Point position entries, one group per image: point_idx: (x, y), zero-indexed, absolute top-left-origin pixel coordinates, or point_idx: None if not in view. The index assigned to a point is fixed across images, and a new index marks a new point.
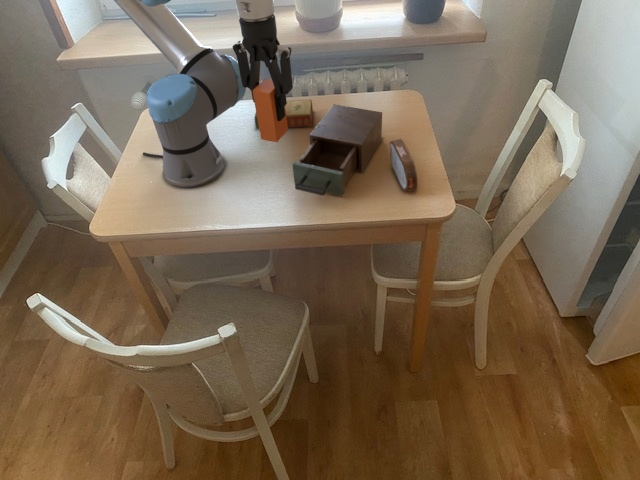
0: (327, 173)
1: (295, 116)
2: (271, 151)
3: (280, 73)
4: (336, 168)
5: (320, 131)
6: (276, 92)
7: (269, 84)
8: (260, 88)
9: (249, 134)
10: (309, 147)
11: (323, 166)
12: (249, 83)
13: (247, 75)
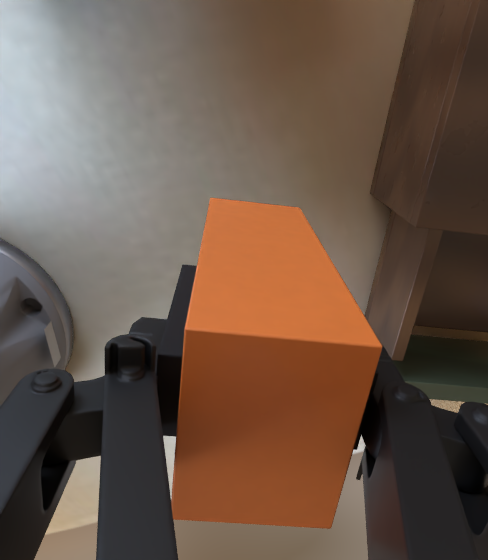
0: None
1: None
2: (189, 159)
3: (464, 529)
4: (484, 257)
5: (466, 187)
6: (364, 468)
7: (279, 419)
8: (224, 486)
9: (28, 46)
10: (416, 283)
11: (435, 256)
12: (87, 453)
13: (40, 499)
